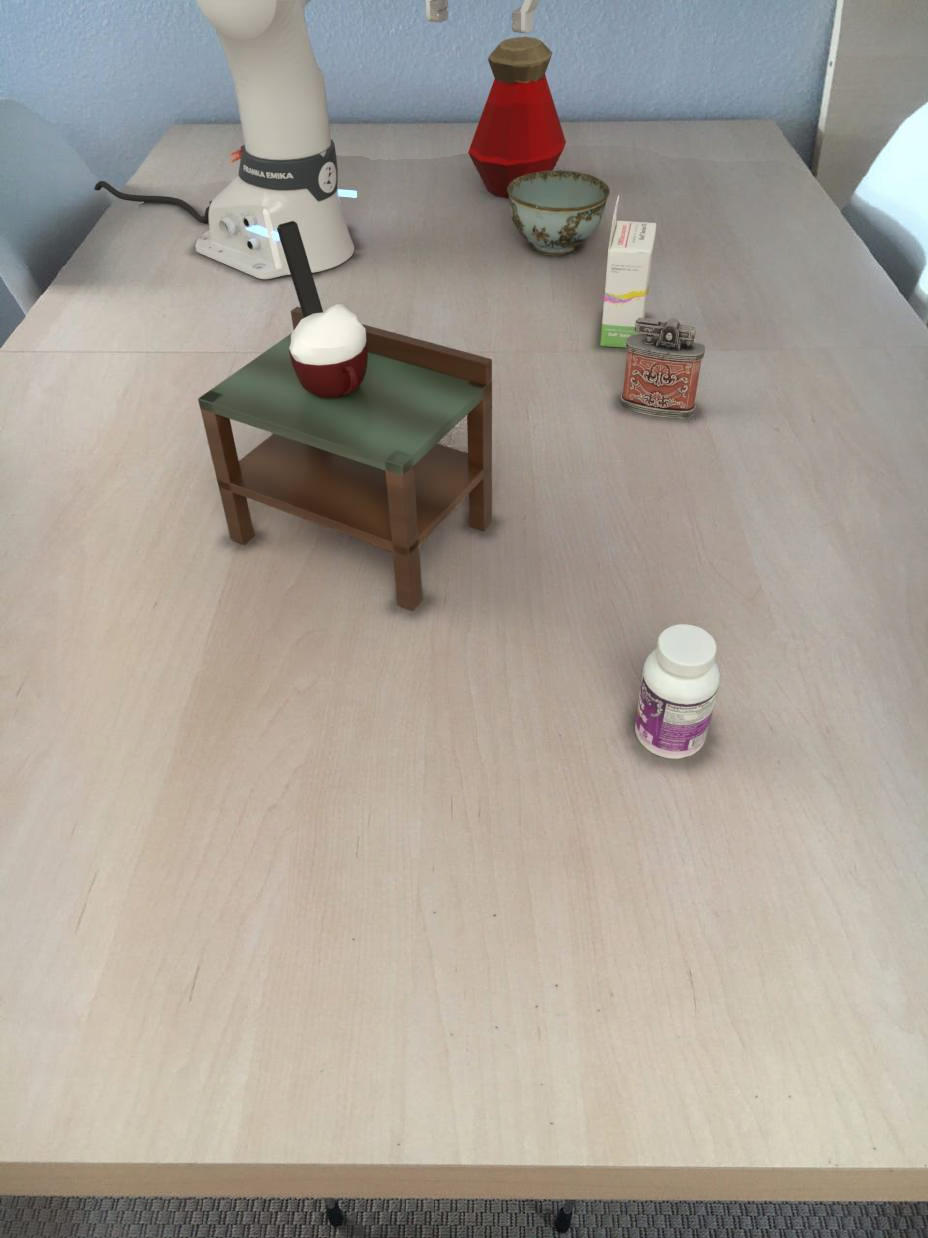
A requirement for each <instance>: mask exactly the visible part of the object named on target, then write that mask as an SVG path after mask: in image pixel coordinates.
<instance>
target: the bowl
mask: <svg viewBox="0 0 928 1238" xmlns="http://www.w3.org/2000/svg"><path fill="white" fill-rule="evenodd" d="M507 192H508V194H509V198H508V201H509V210H510V215H511V220H512V223H513V224H514V226H515V228H516V229H517V232H518V233H519V234H520V235H521V236H522V237H523V239H525V240H526V241H527V242H529V243H531V244H532V247H533V250H534V251H535V252H537V253H539V254H540V255H543V256H551V257H559V256H561V257H562V256H566V255H569V254H572V253H573V252H575V251H576V250H577V248H578V246H579V245H580V244H583V243H584V242H586V241H587V240H588V239H589V238H590V237H592V235H593V234H594V233H595V231H596V230H597V229H598V227H599V225H600V223H601V221H602V218H603V216H604V212H605V208H606V203H607V200H608V198H609V196H610V187H609V185H608V184H607V183H606V182H605V181H603V179H600V178H598V177H596V176H594V175H591V174H589V173H588V174H587V173H582V172H578V171H572V170H571V171H570V170H561V169H560V170H553V171H542V172H536V173H530V174H526V175H523V176H521V177H518V178H516V179H514V180H513V181H512V182H511V183H510V184H509V185H508V188H507Z"/></svg>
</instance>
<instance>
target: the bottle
mask: <svg viewBox="0 0 928 1238" xmlns="http://www.w3.org/2000/svg"><path fill="white" fill-rule="evenodd" d="M552 55H553V52H552V50H551V49H550V48H549V47H548V46H547V45H546V44H545V42H543V41H542V40H541V39H539V38H536V37H530V36H518V37H510V38H507V39H504V40H502V41H500V42H499V44H497V46H496V47H495V49H493V51H492V52H491V53H490V54H489V55H488V57H487V62H488V64H489V67H490V69H491V72H492V75H493V78H494V79H493V81H492V84H491V87H490V90H489V93H488V96H487V98H486V101H485V105H484V107H483V109H482V112H481V115H480V118H479V120H478V124H477V126H476V129H475V131H474V133H473V137H472V140H471V143H470V146H469V148H468V151H467V154H468V156H469V157H470V159H471V161H472V164H473V165H474V167H475V169H476V172H477V173H478V175H479V177H480V179H481V181H482V183H483V185H484V186H485V188H486V190H487V191H488V192H489V193H490V194H492V195H493V196H494V197H499V198H505V199H509V194H508V192H507V188H508V185H509V184H510V183H511V182H512V181H513V180H514V179H516V178H518V177H521V176H523V175H526V174H530V173H536V172H542V171H554V170H555V167H556V165H557V164H558V161H559V159H560V157H561V155H562V153H563V152H564V150H565V147H566V144H567V141H566V137H565V134H564V130H563V127H562V124H561V121H560V117H559V115H558V111H557V109H556V105H555V102H554V98H553V95H552V92H551V89H550V85H549V82H548V79H547V76H546V72H547V70H548V67H549V64H550V61H551V58H552V57H553V56H552Z"/></svg>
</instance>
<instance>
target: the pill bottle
mask: <svg viewBox="0 0 928 1238" xmlns="http://www.w3.org/2000/svg"><path fill="white" fill-rule="evenodd" d="M716 656H717V643H716V640H715V639H714V637H713V636H712V635H711V634H710V633H709V632H708V631H707V630H705V629H704V628H702V627H700V626H696V625H693V624H687V623H679V624H674V625H671V626H668V627H667V628H664V630H663V631H661V633H660V634H659V636H658V639H657V643H656V648H654V649H653V650H652V651H651V652H650V653H649V655H648V656H647V658H646V659H645V661H644V664H643V669H642V675H641V681H640V688H639V696H638V702H637V708H636V716H635V724H634V728H635V735H636V738H637V739H638V741H639V743H640V744H641V746H643V747H644V748H645V749H646V750H647V751H649V752H650V753H652V754H654V755H656V756H658V757H662V758H665V759H672V760H677V759H678V760H679V759H684V758H688V757H691V756H693V755H695V754H696V753H697V752H698V751H700V750H701V749H702V747H703V746H704V744H705V742H706V739H707V735H708V732H709V728H710V723H711V721H712V720H711V719H712V715H713V712H714V708H715V703H716V701H717V700H716V699H717V695H718V691H719V688H720V683H721V682H720V681H721V672H720V671H721V670H720V668H719V665H718V663H717V661H716Z"/></svg>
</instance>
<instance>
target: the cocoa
mask: <svg viewBox="0 0 928 1238" xmlns="http://www.w3.org/2000/svg"><path fill="white" fill-rule="evenodd" d="M277 231H278V234H279V237H280V241H281V244H282V247H283V251H284V254H285V257H286V260H287V264H288V267H289V270H290V274H291V275H290V276H291V280H292V283H293V286H294V290H295V293H296V295H297V296H296V297H297V300H298V303H299V307H301V310H302V313H303V317H304V318H303V319H301V321H300V322H299V324H298V325H297V327H296V328H295V330H293V331H292V332H293V333H292V332H291V333H292V334H291V333H290V334H291V344H290V348H289V349H290V351H289V354H290V358H291V362H292V365H293V368H294V370H295V372H296V375H297V377H298V379H299V381H300V383H301V385H302V387H303V388H304V389H306V390H307V391H308V392H310V393H312V394H313V395H315V396H319V397H322V398H338V397H342V396H345V395H348V394H351V393H353V392H354V391H355V390H356V388H358V387H359V386H360V384H361V383H362V381H363V379H364V376H365V374H366V368H367V359H368V352H367V343H366V330H365V328H364V327H363V325H362V324H363V323H361V321H360V319H359V318H358V316H357V315H356V314H355V313H354V312H352V311H350V310H349V309H348V308H347V307H346V306H345V305H344V304H343V303H338V304H337V303H335V304H333V305H332V306H330V307H329V308H327V309H326V310H325V311H324V309H323V306H322V303H321V299H320V296H319V292H318V289H317V286H316V282H315V279H314V276H313V273H312V272H311V269H310V265H309V262H308V259H307V255H306V252H305V248H304V245H303V242H302V238H301V235H300V231H299V228H298V225H297V223H296V222H294V221H291V222H287V223H283V224H280V225H278V228H277Z"/></svg>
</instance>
